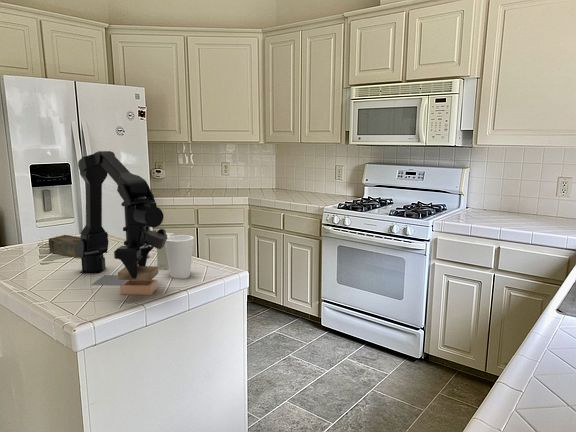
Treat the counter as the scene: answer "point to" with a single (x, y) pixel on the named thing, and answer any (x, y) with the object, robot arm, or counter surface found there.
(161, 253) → the skincare box
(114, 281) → the mat
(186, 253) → the foam cup
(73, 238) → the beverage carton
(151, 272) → the lid
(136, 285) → the dish
